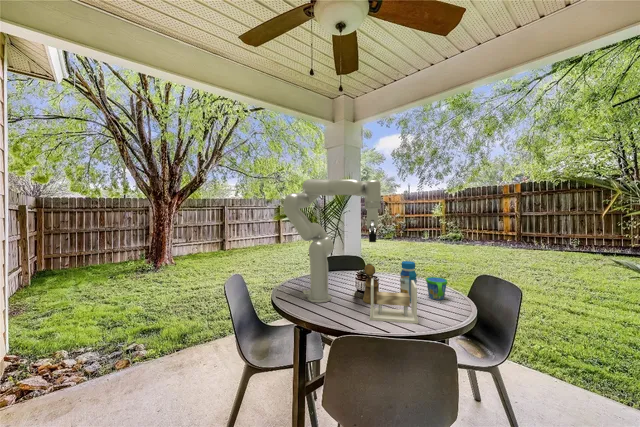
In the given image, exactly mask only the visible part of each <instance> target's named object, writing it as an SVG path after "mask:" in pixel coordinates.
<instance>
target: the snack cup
mask: <svg viewBox="0 0 640 427" xmlns="http://www.w3.org/2000/svg"><path fill="white" fill-rule="evenodd" d="M425 281H426V285H427V286H426V287H427V294H428V298H430V299H431V300H436V301H443V300H444V299H445V295H446V291H447V285H448V283H449V282H448V279H447V278H443V277H439V276H436V277H435V276H430V277H429V276H428V277H426V278H425Z"/></svg>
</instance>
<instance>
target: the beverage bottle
mask: <svg viewBox="0 0 640 427" xmlns="http://www.w3.org/2000/svg"><path fill="white" fill-rule="evenodd" d="M401 269H402V270H401V271H400V273H399V276H400V278H399V282H400V291H399V293H409V296H410V303H411V280H414V282H415V284H416V285H417V283H418V279H417V272H416V271H415V269H416V263H415V261H410V260H404V261H403V260H402V261H401Z"/></svg>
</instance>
